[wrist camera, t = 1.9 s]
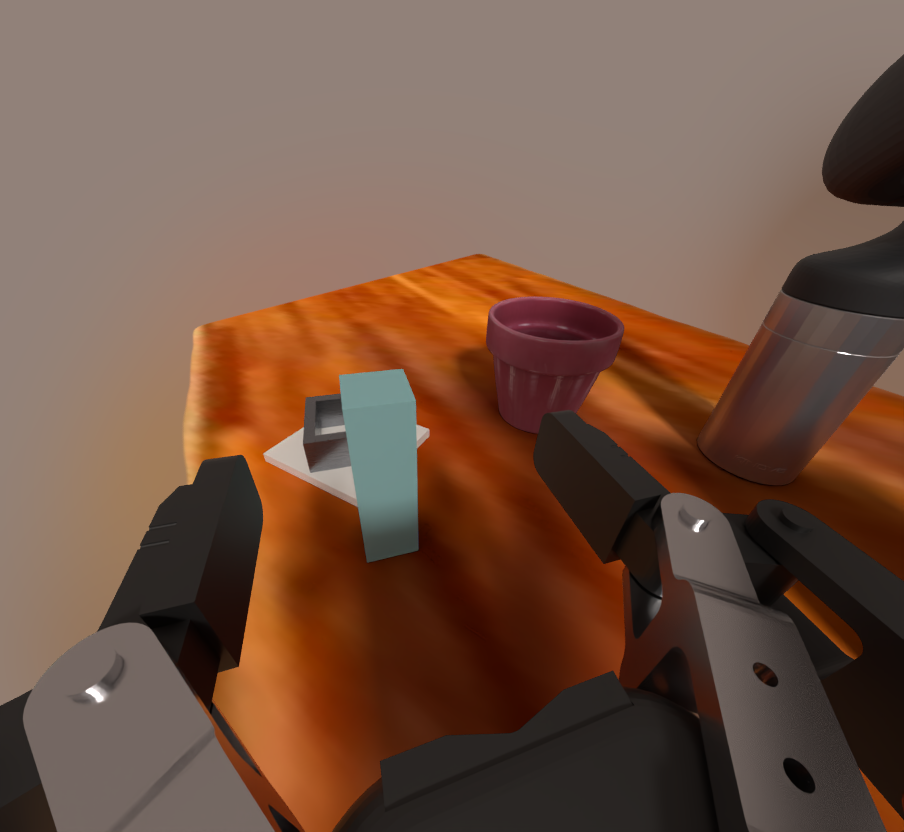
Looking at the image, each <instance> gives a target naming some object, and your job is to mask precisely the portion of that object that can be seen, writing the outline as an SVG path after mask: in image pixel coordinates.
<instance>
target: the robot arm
mask: <svg viewBox="0 0 904 832" xmlns="http://www.w3.org/2000/svg"><path fill="white" fill-rule="evenodd" d="M822 175H823V182H824V184H825V186H826V188H827V190H828V191H829V192H830V193H832V194H833V195H834V196H836V197H837V198H841V199H844V200H847V201H850V202H853V203H858V204H866V205H880V206H898V207H904V55H903V56H902V57H900V58H899V59H898V60H897V61H896V62H895V63H894V64H893V65H891V66H890V67H889V68H888V69H887V70H886V71H885V72H884V73H883V74H882V75H881V76H880V77H879V78H878V79H877V80H876V82H874V84H873V85H872V86H871V87H870V88H869V89H868V90H867V91H866V92H865V93H864V95H863V96H862V97H861V98H860V99H859V101H858V102H857V103H856V104H855V105H854V107H853V108H852V109H851V110H850V112H849V113H848V114H847V116H846V117H845V119H844V120H843V121H842V123H841V124H840V126H839V128H838V129H837V131H836V133H835V134H834V136H833V138H832V140H831V142H830V144H829V146H828V149H827V151H826V154H825V157H824V161H823V168H822ZM903 349H904V221H903V222H902V223H901V224H900V225H899V226H898V227H896V228H895V229H893V230H892V231H890V232H888V233H886V234H884V235H882V236H880V237H877V238H875V239H873V240H870V241H867V242H865V243H862V244H859V245H855V246H852V247H848V248H843V249H838V250H833V251H828V252H823V253H818V254H813V255H810V256H807V257H805V258H804V259H802V260H800V261H799V262H798V263H797V264H796V265H795V267H794V268H793V269H792V271H791V273H790V274H789V276H788V278H787V280H786V281H785V283H784V285H783V287H782V290H781V291H780V292H779V294H778V296H777V298H776V299H775V301H774V303H773V305H772V306H771V308H770V310H769V312H768V314H767V315H766V317H765V319H764V321H763V323H762V325H761V326H760V328H759V330H758V332H757V334H756V335H755V337H754V339H753V341H752V342H751V344H750V346H749V348H748V350H747V351H746V353H745V355H744V357H743V358H742V360H741V362H740V364H739V366H738V367H737V369H736V371H735V373H734V374H733V376H732V378H731V380H730V382H729V383H728V385H727V387H726V389H725V390H724V392H723V394H722V396H721V398H720V399H719V401H718V403H717V405H716V406H715V408H714V410H713V411H712V413H711V415H710V417H709V419H708V420H707V422H706V424H705V426H704V428H703V429H702V431H701V433H700V435H699V437H698V439H697V444H698V446H699V448H700V450H701V451H702V452H703V454H704V455H705V456H706V457H707V458H709V459H710V460H711V461H712V462H714V463H715V464H716V465H718V466H719V467H721V468H723V469H725V470H726V471H728V472H730V473H732V474H734V475H737V476H739V477H742V478H744V479H747V480H750V481H754V482H758V483H761V484H768V485H784V484H789V483H791V482H792V481H794V480H795V478H796V477H797V476H798V475H799V474H800V472H801V471H802V470H803V469H804V468H805V466H806V465H807V464H808V463H809V462H810V460H811V459H812V458H813V457H814V456H815V454H816V453H817V452H818V451H819V450H820V449H821V448H822V446H823V445H824V444H825V443H826V442H827V440H828V439H829V438H830V437H831V436H832V434H833V433H834V432H835V431H836V430H837V428H838V427H839V426H840V425H841V424H842V422H843V421H844V420H845V419H846V418H847V416H848V415H849V414H850V413H851V412H852V410H853V409H854V408H855V407H856V406H857V404H858V403H859V402H860V401H861V400H862V398H863V397H864V396H865V395H866V394H867V392H868V391H869V390H870V389H871V388H872V386H873V385H874V384H875V383H876V382H877V380H878V379H879V378H880V377H881V376H882V374H883V373H884V372H885V371H886V370H887V368H888V367H889V366H890V365H891V364H892V362H893V361H894V360H895V359H896V357H897V356H898V355H899V353H900V352H901V351H902V350H903ZM533 458H534V465H535V468H536V470H537V472H538V474H539V475H540V476H541V478H542V479H543V481H544V482H545V483H546V485H547V486H548V488H549V489H550V490H551V492H552V493H553V494H554V496H555V497H556V499H557V500H558V501H559V503H560V504H561V506H562V507H563V508H564V510H565V511H566V512H567V514H568V515H569V517H570V518H571V519H572V521H573V522H574V523H575V525H576V526H577V528H578V529H579V530H580V532H581V533H582V535H583V536H584V537H585V539H586V540H587V541H588V543H589V544H590V546H591V547H592V548H593V550H594V551H595V553H596V554H597V555H598V557H599V558H600V559H601V561H602V562H603V564H606V563H609V562H612V561H616V560H619V559H621V560H622V562H623V563H624V564H625V567H624V569H623V573H622V580H623V602H624V623H625V652H624V657H623V660H622V663H621V668H620V675H619V680H618V678H617V677H616V675H615V673H614V672H613V671H611V672H608V673H605V674H603V675H600V676H598V677H595V678H593V679H590V680H587V681H585V682H582V683H580V684H577V685H575V686H572V687H569V688H567V689H564V690H563V691H562V692H561V693H560V694H558V695H557V696H556V697H555V698H554V699H553V700H552V701H551V702H550V703H548V704H547V705H546V706H545V707H544V708H543V709H542V710H541V711H540V712H538V713H537V714H536V715H535V716H534V717H533V718H532V719H531V720H529V721H528V722H527V723H526V724H525V725H524V726H523V727H522V728H521V729H519V730H518V731H516V732H513V733H505V734H475V735H446V736H443V737H441V738H438V739H436V740H433V741H431V742H428V743H425V744H423V745H420V746H418V747H415V748H413V749H410V750H407V751H405V752H402V753H400V754H397V755H395V756H392V757H389V758H387V759H384V760H382V761H380V765H381V775H382V777H381V778H380V779H379V780H378V781H377V782H375V783H374V784H373V785H372V786H371V787H369V788H368V789H367V790H366V791H365V792H364V793H363V794H362V795H361V796H360V797H359V798H358V799H357V800H356V801H355V802H354V804H353V805H352V806H351V807H350V808H349V810H348V811H347V812H346V813H345V815H344V816H343V817H342V818H341V820H340V821H339V822H338V824H337V825H336V826H335V828H334V830H333V831H332V832H887V831H886V829H885V827H884V824H883V822H882V820H881V818H880V815H879V813H878V811H877V809H876V806H875V804H874V802H873V799H872V797H871V795H870V793H869V790H868V788H867V786H866V784H865V781H864V779H863V777H862V774H861V772H860V770H861V771H862V772H863V773H864V774H865V775H866V777H867V778H868V779H869V780H870V781H871V782H872V784H873V785H874V786H875V787H876V788H877V789H878V791H879V792H880V793H881V794H882V795H883V796H884V798H885V799H886V800H887V801H888V802H889V803H890V805H891V806H892V807H893V808H894V809H895V810H896V811H897V813H898V814H899V815H900V816H901V817H902V818H903V820H904V581H902V580H901V579H900V578H898V577H897V576H896V575H894V574H893V573H891V572H890V571H889V570H887V569H886V568H885V567H883V566H882V565H881V564H879V563H878V562H876V561H875V560H874V559H872V558H871V557H870V556H868V555H867V554H866V553H864V552H863V551H861V550H860V549H859V548H857V547H856V546H855V545H853V544H852V543H851V542H849V541H848V540H846V539H845V538H844V537H842V536H841V535H840V534H838V533H837V532H836V531H834V530H833V529H831V528H830V527H829V526H827V525H826V524H825V523H823V522H822V521H820V520H819V519H818V518H816V517H815V516H813V515H812V514H810V513H809V512H807V511H805V510H803V509H801V508H799V507H797V506H795V505H792V504H789V503H786V502H783V501H779V500H763V501H760V502H759V503H758V504H757V505H756V507H755V508H754V509H753V511H752V512H751V513H750V514H749V515H742V514H729V513H721V512H720V511H719V510H718V509H717V508H715V507H714V506H712V505H711V504H709V503H708V502H706V501H704V500H702V499H700V498H698V497H695V496H692V495H689V494H684V493H670V492H669V491H668V490H667V489H665V488H664V487H663V486H662V485H661V484H660V483H659V482H658V481H657V480H656V479H655V478H653V477H652V476H651V475H650V474H649V473H648V472H647V471H646V470H645V469H644V468H643V467H641V466H640V465H639V464H638V463H637V462H636V461H635V460H634V459H633V458H632V457H628V454H627V453H626V452H625V451H624V450H623V449H622V448H621V447H618V446H617V444H616V443H615V442H614V441H613V440H612V439H611V438H610V437H609V436H608V435H606V434H605V433H604V432H602V431H600V430H598V429H597V428H595V427H593V426H591V425H589V424H586V423H585V422H584V421H583V420H582V419H581V418H580V417H579V416H578V415H577V414H576V413H574V412H573V411H571V410H564V411H557V412H550V413H546V414H544V415H543V417H542V420H541V424H540V428H539V432H538V436H537V441H536V445H535V449H534V456H533ZM262 525H263V509H262V503H261V500H260V497H259V494H258V491H257V489H256V486H255V483H254V480H253V478H252V475H251V472H250V470H249V467H248V464H247V462H246V459H245V458H244V456H242V455H236V456H229V457H222V458H215V459H208V460H204V461H203V462H202V464H201V466H200V468H199V470H198V473H197V475H196V478H195V480H194V482H193V484H191V485H184V486H179V487H178V488H177V489H176V490H175V491H174V492H173V493H172V494H171V495H170V496H169V497H168V498H167V499H166V500H165V501H164V502H163V503H162V504H160V505H159V507H158V509H157V511H156V514H155V516H154V517H153V520H152V522H151V524H150V526H149V531H147V532H146V534H145V536H144V538H143V540H142V542H141V544H140V546H141V548H140V549H139V550H137V552H136V554H135V556H134V558H133V560H132V562H131V564H130V567H129V569H128V571H127V573H126V575H125V577H124V579H123V581H122V583H121V585H120V587H119V589H118V591H117V593H116V595H115V597H114V599H113V601H112V604H111V605H110V608H109V609H108V612H107V614H106V616H105V618H104V620H103V622H102V624H101V626H100V627H99V629H98V631H97V632H96V633H94V634H92V635H90V636H88V637H87V638H85V639H83V640H82V641H80V642H79V643H77V644H76V645H75V646H73V647H72V648H70V649H69V650H68V651H66V652H65V653H64V654H63V655H62V656H61V657H59V658H58V659H57V660H56V661H55V662H54V663H53V664H52V665H51V666H50V667H49V668H48V670H47V671H46V672H45V673H44V674H43V675H42V677H41V678H40V679H39V681H38V682H37V684H36V685H35V687H34V688H33V689H32V690H30V691H28V692H26V693H25V694H23V695H21V696H19V697H17V698H15V699H13V700H11V701H9V702H7V703H5V704H3V705H1V706H0V832H305V831H304V829H303V828H302V826H301V825H300V823H299V822H298V820H297V819H296V818H295V816H294V815H293V813H292V812H291V810H290V809H289V808H288V806H287V805H286V804H285V802H284V801H283V799H282V798H281V797H280V796H279V794H278V793H277V792H276V790H275V789H274V788H273V787H272V785H271V784H270V783H269V781H268V780H267V778H266V777H265V775H264V774H263V773H262V771H261V770H260V768H259V767H258V765H257V764H256V762H255V761H254V759H253V758H252V756H251V755H250V753H249V752H248V750H247V749H246V747H245V746H244V744H243V743H242V741H241V740H240V739H239V737H238V736H237V734H236V733H235V731H234V730H233V728H232V727H231V725H230V724H229V722H228V721H227V719H226V718H225V716H224V715H223V713H222V712H221V710H220V709H219V707H218V706H217V704H216V703H215V701H214V700H213V699H212V697H213V693H214V688H215V683H216V678H217V673H218V672H222V671H225V670H229V669H232V668H236V667H239V662H240V656H241V650H242V644H243V638H244V632H245V626H246V620H247V614H248V608H249V602H250V597H251V591H252V585H253V579H254V573H255V567H256V561H257V555H258V549H259V543H260V537H261V531H262ZM798 580H799V581H800V582H802V583H803V584H804V585H805V586H806V587H807V588H808V589H809V590H810V591H812V592H813V593H814V594H815V595H816V596H817V597H818V598H819V599H820V600H822V601H823V602H824V603H825V604H826V605H827V606H828V607H829V608H830V609H832V610H833V611H834V612H835V613H836V614H837V615H838V616H839V617H840V618H842V619H843V620H844V621H845V622H846V623H847V624H848V625H849V626H850V627H851V628H852V629H853V630H854V631H855V632H856V633H857V634H858V636H859V637H860V639H861V641H862V644H863V653H862V655H861V656H860V657H858V658H857V659H855V660H854V659H852V658H850V657H849V656H847V655H846V654H845V653H844V652H842V651H841V650H840V649H839V648H838V647H837V646H836V645H835V644H834V643H833V642H832V641H831V640H830V639H829V638H828V637H827V636H826V635H825V634H824V633H823V632H822V631H821V630H820V629H819V628H818V627H817V626H815V625H814V624H813V623H812V622H811V621H810V620H809V619H808V618H807V617H806V616H805V615H804V614H803V613H802V612H801V611H800V610H799V609H798V608H797V607H796V606H795V605H794V604H793V603H792V602H791V601H790V600H789V599H788V598H787V597H785V596H784V595H783V594H784V593H785V592H786V591H787V590H788V589H789V588H791V587H792V586H793V585H794V584H795V583H796V582H797V581H798ZM858 767H859V768H860V770H859V768H858ZM901 832H904V830H902V831H901Z"/></svg>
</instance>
